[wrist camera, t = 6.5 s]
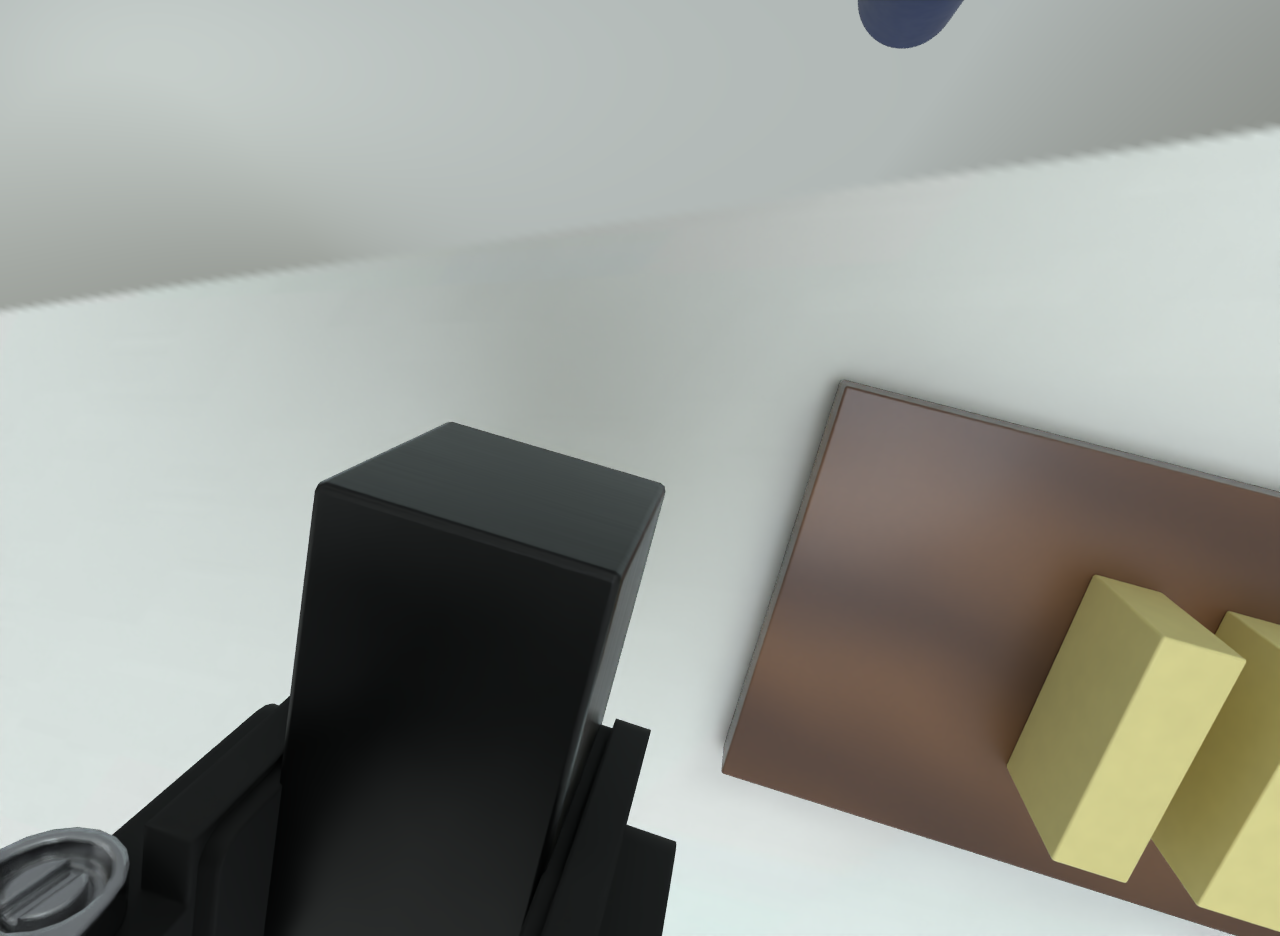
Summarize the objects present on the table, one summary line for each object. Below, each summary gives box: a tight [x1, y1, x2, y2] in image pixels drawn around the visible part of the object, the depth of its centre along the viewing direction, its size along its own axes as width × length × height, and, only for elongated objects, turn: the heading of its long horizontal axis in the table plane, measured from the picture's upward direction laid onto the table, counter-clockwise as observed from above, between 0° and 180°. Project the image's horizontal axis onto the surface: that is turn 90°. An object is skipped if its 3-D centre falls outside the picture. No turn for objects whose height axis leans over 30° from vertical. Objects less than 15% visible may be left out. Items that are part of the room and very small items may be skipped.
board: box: [722, 380, 1280, 936], centre depth 23 cm, size 14×22×2 cm, turn 77°
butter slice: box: [1007, 575, 1246, 883], centre depth 20 cm, size 7×2×4 cm, turn 167°
